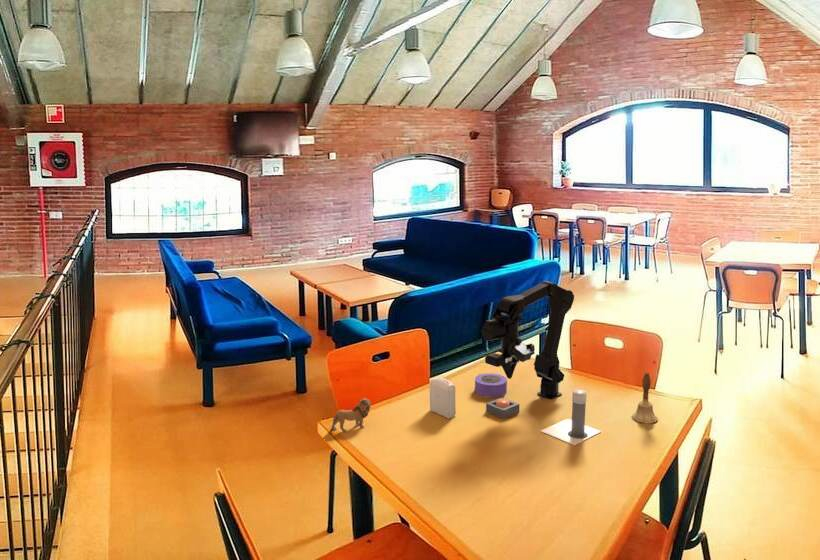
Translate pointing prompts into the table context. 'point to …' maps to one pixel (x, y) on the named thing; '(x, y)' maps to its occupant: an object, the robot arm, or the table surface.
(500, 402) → the button
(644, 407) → the hand bell
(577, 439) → the notepad
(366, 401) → the lion figurine
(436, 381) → the photo printer
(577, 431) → the marker
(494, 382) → the tape roll
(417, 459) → the table surface
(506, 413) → the button box
